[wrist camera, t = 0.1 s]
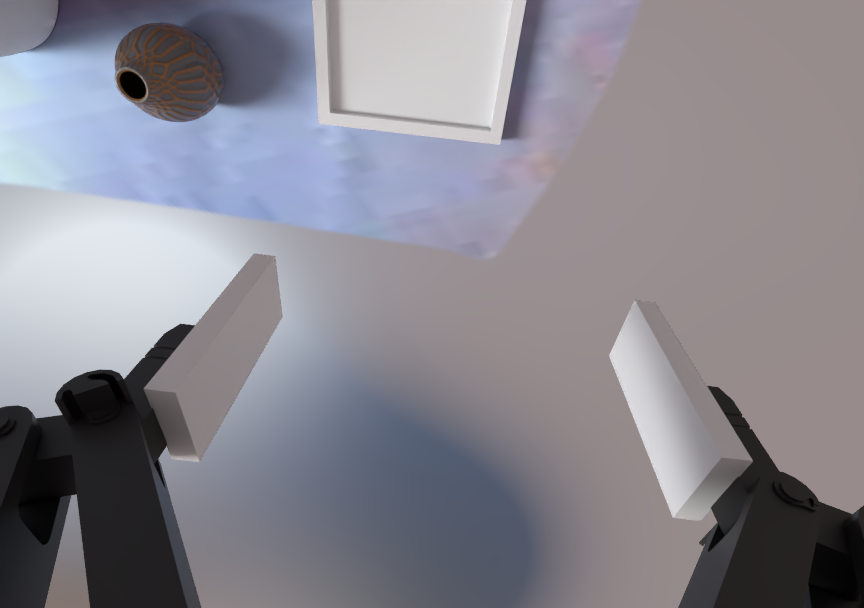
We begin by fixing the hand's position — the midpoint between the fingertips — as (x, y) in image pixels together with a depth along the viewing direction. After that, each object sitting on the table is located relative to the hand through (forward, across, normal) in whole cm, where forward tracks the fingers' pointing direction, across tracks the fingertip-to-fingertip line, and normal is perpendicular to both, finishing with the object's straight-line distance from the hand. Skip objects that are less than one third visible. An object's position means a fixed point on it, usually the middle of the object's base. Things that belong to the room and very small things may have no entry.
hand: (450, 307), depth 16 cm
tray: (+28, -4, +7) cm, 29 cm away
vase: (+28, -23, +2) cm, 37 cm away
